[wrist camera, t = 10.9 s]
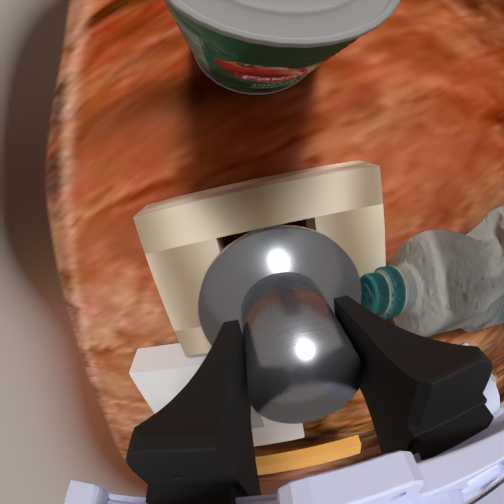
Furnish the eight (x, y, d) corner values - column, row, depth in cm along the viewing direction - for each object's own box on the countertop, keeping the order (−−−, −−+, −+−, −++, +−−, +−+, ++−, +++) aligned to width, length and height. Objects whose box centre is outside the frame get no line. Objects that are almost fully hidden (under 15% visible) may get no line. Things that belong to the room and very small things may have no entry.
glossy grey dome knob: (333, 200, 16) (426, 258, 8) (339, 320, 19) (395, 422, 11) (190, 223, 16) (153, 308, 8) (218, 342, 19) (217, 460, 11)
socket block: (282, 324, 23) (289, 349, 20) (299, 414, 27) (304, 437, 24) (137, 348, 23) (128, 373, 20) (185, 430, 28) (183, 452, 25)
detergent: (545, 192, 20) (357, 157, 16) (592, 219, 13) (433, 193, 10) (510, 298, 26) (326, 334, 22) (546, 333, 19) (360, 407, 16)
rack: (359, 160, 18) (379, 165, 16) (369, 292, 22) (385, 313, 19) (147, 204, 19) (133, 217, 16) (190, 330, 23) (185, 356, 20)
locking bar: (357, 434, 24) (361, 444, 23) (356, 444, 24) (359, 453, 23) (204, 462, 24) (203, 471, 23) (210, 470, 25) (209, 479, 24)
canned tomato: (265, 120, 17) (308, 104, 7) (165, 50, 15) (93, -27, 5) (342, 36, 15) (440, -30, 5) (246, -31, 13) (259, -139, 3)
